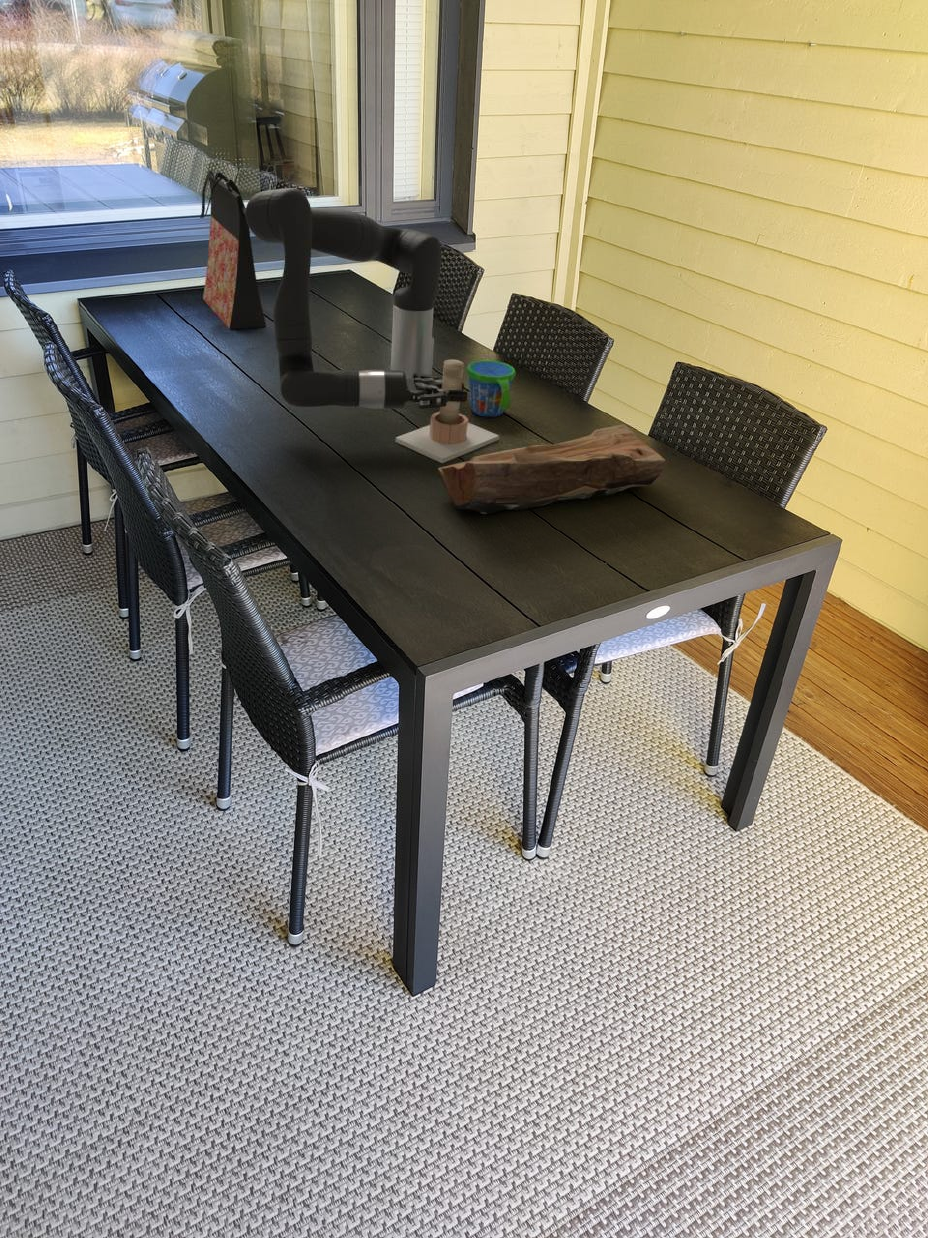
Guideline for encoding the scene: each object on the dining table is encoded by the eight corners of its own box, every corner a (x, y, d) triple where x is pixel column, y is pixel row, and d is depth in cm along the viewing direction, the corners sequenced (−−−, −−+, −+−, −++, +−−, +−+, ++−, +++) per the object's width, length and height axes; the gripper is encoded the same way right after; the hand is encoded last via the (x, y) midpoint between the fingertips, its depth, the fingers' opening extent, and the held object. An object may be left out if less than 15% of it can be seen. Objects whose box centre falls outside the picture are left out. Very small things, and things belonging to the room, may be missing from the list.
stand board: (452, 420, 215) (453, 416, 214) (498, 439, 208) (499, 435, 208) (395, 441, 203) (395, 437, 203) (442, 463, 197) (442, 458, 196)
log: (457, 526, 174) (480, 451, 166) (422, 476, 186) (442, 404, 178) (646, 529, 194) (675, 462, 186) (603, 483, 206) (628, 419, 198)
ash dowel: (443, 422, 206) (448, 357, 198) (460, 427, 205) (466, 362, 197) (435, 429, 203) (440, 363, 195) (452, 433, 202) (459, 367, 194)
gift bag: (192, 299, 269) (182, 161, 249) (243, 296, 275) (238, 161, 255) (222, 334, 248) (214, 186, 228) (276, 330, 254) (273, 185, 234)
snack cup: (453, 399, 225) (456, 356, 219) (495, 397, 228) (500, 354, 223) (477, 427, 213) (481, 382, 207) (521, 424, 217) (527, 379, 211)
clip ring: (446, 426, 210) (448, 408, 207) (473, 437, 206) (475, 419, 204) (422, 435, 205) (423, 417, 202) (449, 447, 201) (451, 429, 199)
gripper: (385, 384, 189) (472, 387, 192) (378, 358, 201) (461, 361, 204) (383, 421, 193) (469, 423, 196) (377, 393, 205) (458, 396, 208)
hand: (464, 391), depth 200 cm, fingers closed on ash dowel, 4 cm apart
